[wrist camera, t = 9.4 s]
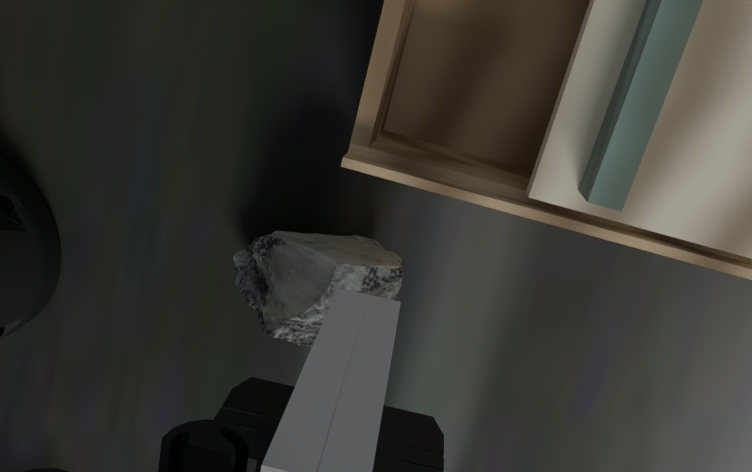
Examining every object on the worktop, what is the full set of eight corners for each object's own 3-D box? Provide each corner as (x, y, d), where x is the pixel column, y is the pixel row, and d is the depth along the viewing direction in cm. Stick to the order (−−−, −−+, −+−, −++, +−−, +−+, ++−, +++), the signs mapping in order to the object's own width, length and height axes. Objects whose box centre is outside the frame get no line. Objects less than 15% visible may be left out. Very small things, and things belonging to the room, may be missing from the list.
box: (366, 139, 42) (340, 166, 33) (423, -94, 38) (412, -135, 29) (699, 230, 41) (767, 284, 32) (797, 2, 37) (907, -9, 28)
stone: (248, 388, 37) (376, 283, 34) (197, 254, 42) (305, 152, 39) (345, 396, 45) (457, 310, 42) (293, 281, 50) (389, 198, 47)
